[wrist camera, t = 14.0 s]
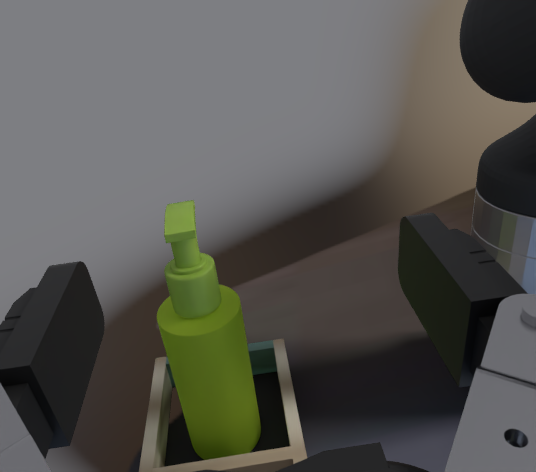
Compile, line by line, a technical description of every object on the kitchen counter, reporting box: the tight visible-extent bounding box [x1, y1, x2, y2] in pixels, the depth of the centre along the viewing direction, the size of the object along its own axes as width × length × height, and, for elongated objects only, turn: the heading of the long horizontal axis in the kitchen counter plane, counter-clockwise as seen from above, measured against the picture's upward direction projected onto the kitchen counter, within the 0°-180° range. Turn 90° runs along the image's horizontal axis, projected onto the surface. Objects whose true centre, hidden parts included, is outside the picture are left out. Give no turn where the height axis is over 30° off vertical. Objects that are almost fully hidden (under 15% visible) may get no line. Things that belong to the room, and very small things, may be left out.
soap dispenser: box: [157, 200, 261, 460], centre depth 35 cm, size 6×7×20 cm
